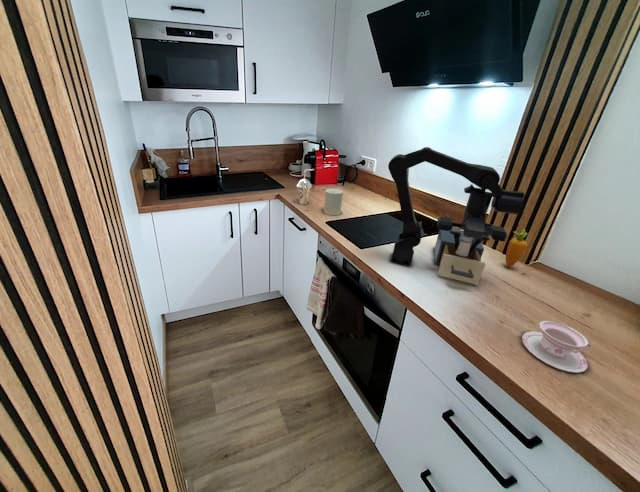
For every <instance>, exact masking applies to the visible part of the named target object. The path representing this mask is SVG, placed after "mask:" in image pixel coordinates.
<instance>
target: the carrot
mask: <svg viewBox="0 0 640 492" xmlns="http://www.w3.org/2000/svg"><path fill="white" fill-rule="evenodd" d="M513 234H515V236H516V237H512V238H511V239H510V240H509V242H508V245H507V249H506V252H505V264H506V266H507V268H511V267H513V266H514V265H515V264H516V263H517V262H518V261H519V260H520V259H521V257H522V256H523V254H524V253H525V250H526V249H527V247H528V241H526V240H525V238H526V237H527V236H528V232H526V229H524V228H522V229H521V232H520V233H518V232H517V231H515V230H514V231H513Z"/></svg>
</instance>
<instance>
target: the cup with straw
mask: <svg viewBox="0 0 640 492" xmlns="http://www.w3.org/2000/svg"><path fill="white" fill-rule="evenodd" d="M308 171H309V172H311V171H315V168H312V169H311V168H310V169H308V168H307V169H305V170H304V171H303V178H302V179H300V180H299V181H298V183H297V184H296V187H297V191H298V203H299V205H300V204H301V205H307V204H308V201H309V195H310V191H311V188H313V185H312V184H311V181H310V180H309V179H307V178H306V173H307V172H308Z"/></svg>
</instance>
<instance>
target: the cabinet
mask: <svg viewBox="0 0 640 492" xmlns="http://www.w3.org/2000/svg"><path fill="white" fill-rule="evenodd" d="M460 234H461V235H460V238H459V240H460V239H461V238H462V237H465V238H469V239H471V240H473V238H472V237H466V236H464V230H462V229H461V230H460ZM444 244H449V245H454V246H455V240H454V235H453V234H451V233H450V230H449V231H445V230H440V229H438V234H437V238H436V241H435V244H434V265H437V266H440V255H441V252H442V249H443V245H444ZM474 250H478V253H479V256H480V259H482V257H483V254H484V251H485V248H484V245H483V241H482V242H481V243H480V244H478V245H477V247H476V248H475V249H474Z"/></svg>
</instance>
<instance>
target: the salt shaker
mask: <svg viewBox="0 0 640 492" xmlns="http://www.w3.org/2000/svg"><path fill="white" fill-rule="evenodd" d="M471 245H472V240H471V239H469V238H465V237H462V238H461V239H460V240H459V244H458V248H457V250H456V254H458V255H460V256H468V254H469V251H470V248H471Z"/></svg>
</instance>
